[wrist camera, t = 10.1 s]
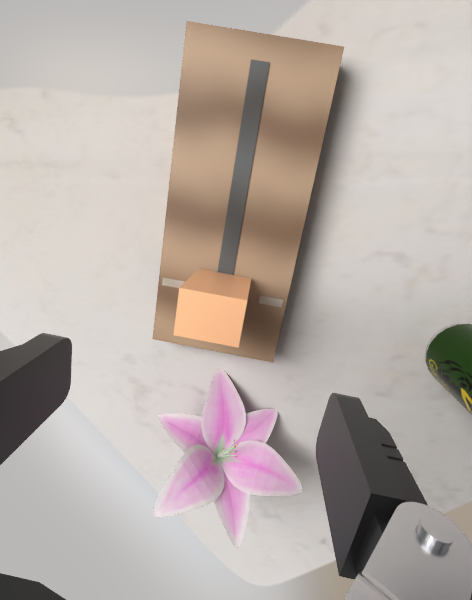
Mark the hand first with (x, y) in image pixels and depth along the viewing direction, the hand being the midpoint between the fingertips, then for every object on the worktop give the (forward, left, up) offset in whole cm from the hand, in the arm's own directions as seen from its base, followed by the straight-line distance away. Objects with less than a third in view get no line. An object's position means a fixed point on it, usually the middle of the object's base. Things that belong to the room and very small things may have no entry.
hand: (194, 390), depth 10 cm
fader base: (-5, -1, -18) cm, 19 cm away
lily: (+14, +2, -19) cm, 23 cm away
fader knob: (+1, -1, -16) cm, 16 cm away
